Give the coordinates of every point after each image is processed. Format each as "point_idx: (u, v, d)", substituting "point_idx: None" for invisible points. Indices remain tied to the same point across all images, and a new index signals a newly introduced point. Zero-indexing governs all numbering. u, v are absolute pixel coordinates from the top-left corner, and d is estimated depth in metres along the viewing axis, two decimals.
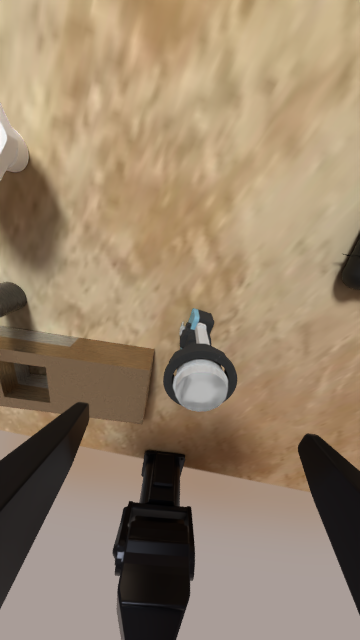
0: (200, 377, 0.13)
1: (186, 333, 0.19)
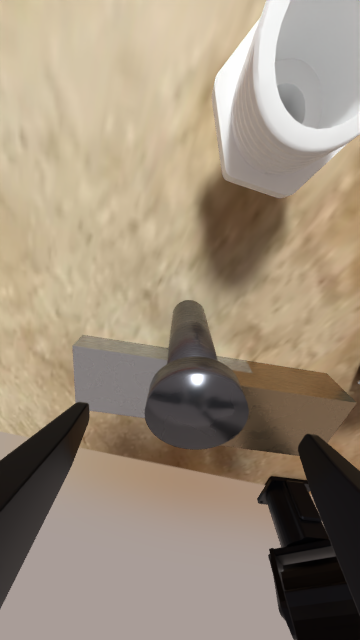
0: None
1: None
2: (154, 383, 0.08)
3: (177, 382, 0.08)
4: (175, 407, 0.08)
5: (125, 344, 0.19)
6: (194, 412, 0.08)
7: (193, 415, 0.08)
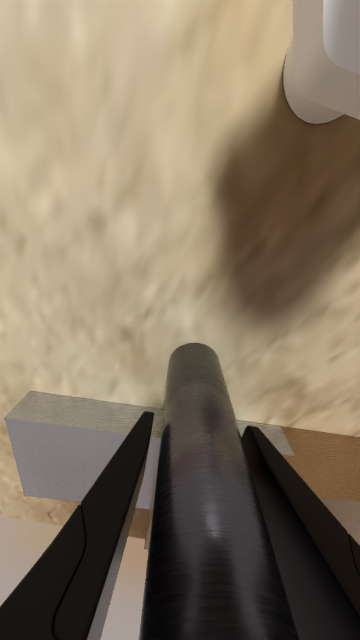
0: None
1: None
2: None
3: None
4: None
5: (95, 406, 0.12)
6: None
7: None
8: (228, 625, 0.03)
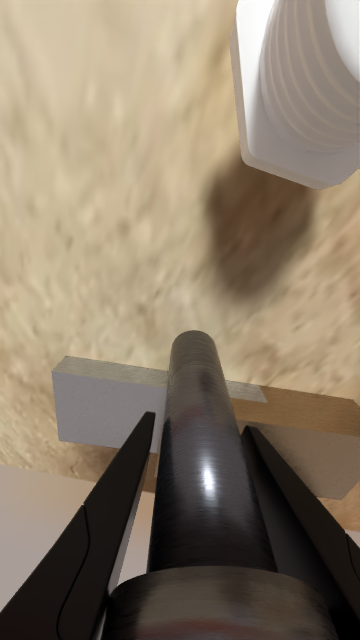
0: None
1: None
2: None
3: None
4: None
5: (116, 367, 0.16)
6: None
7: None
8: (212, 495, 0.05)
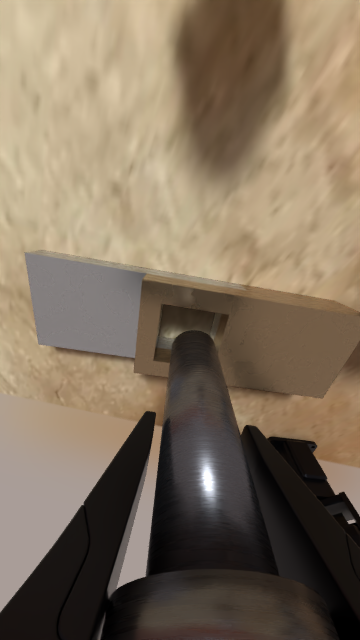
0: None
1: None
2: None
3: None
4: None
5: (93, 260, 0.16)
6: None
7: None
8: (213, 497, 0.05)
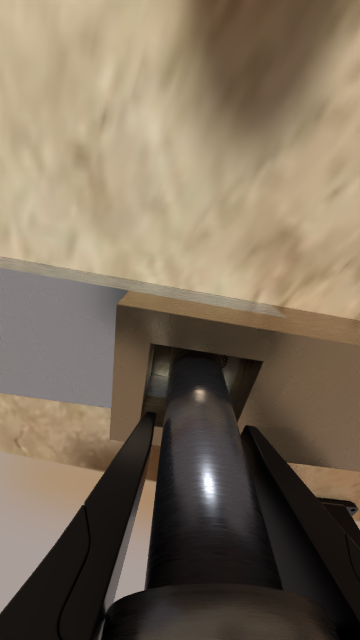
0: None
1: None
2: None
3: None
4: None
5: (50, 267, 0.10)
6: None
7: None
8: (214, 505, 0.04)
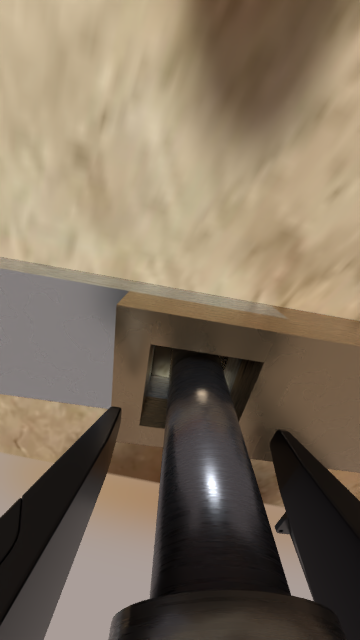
0: None
1: None
2: None
3: None
4: None
5: (50, 268, 0.10)
6: None
7: None
8: (219, 508, 0.04)
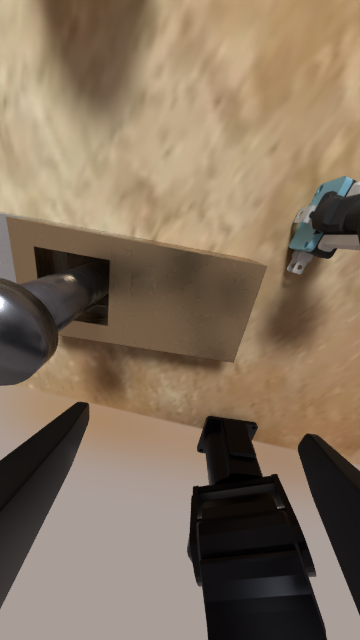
0: None
1: (338, 197, 0.12)
2: None
3: None
4: None
5: None
6: None
7: None
8: None
